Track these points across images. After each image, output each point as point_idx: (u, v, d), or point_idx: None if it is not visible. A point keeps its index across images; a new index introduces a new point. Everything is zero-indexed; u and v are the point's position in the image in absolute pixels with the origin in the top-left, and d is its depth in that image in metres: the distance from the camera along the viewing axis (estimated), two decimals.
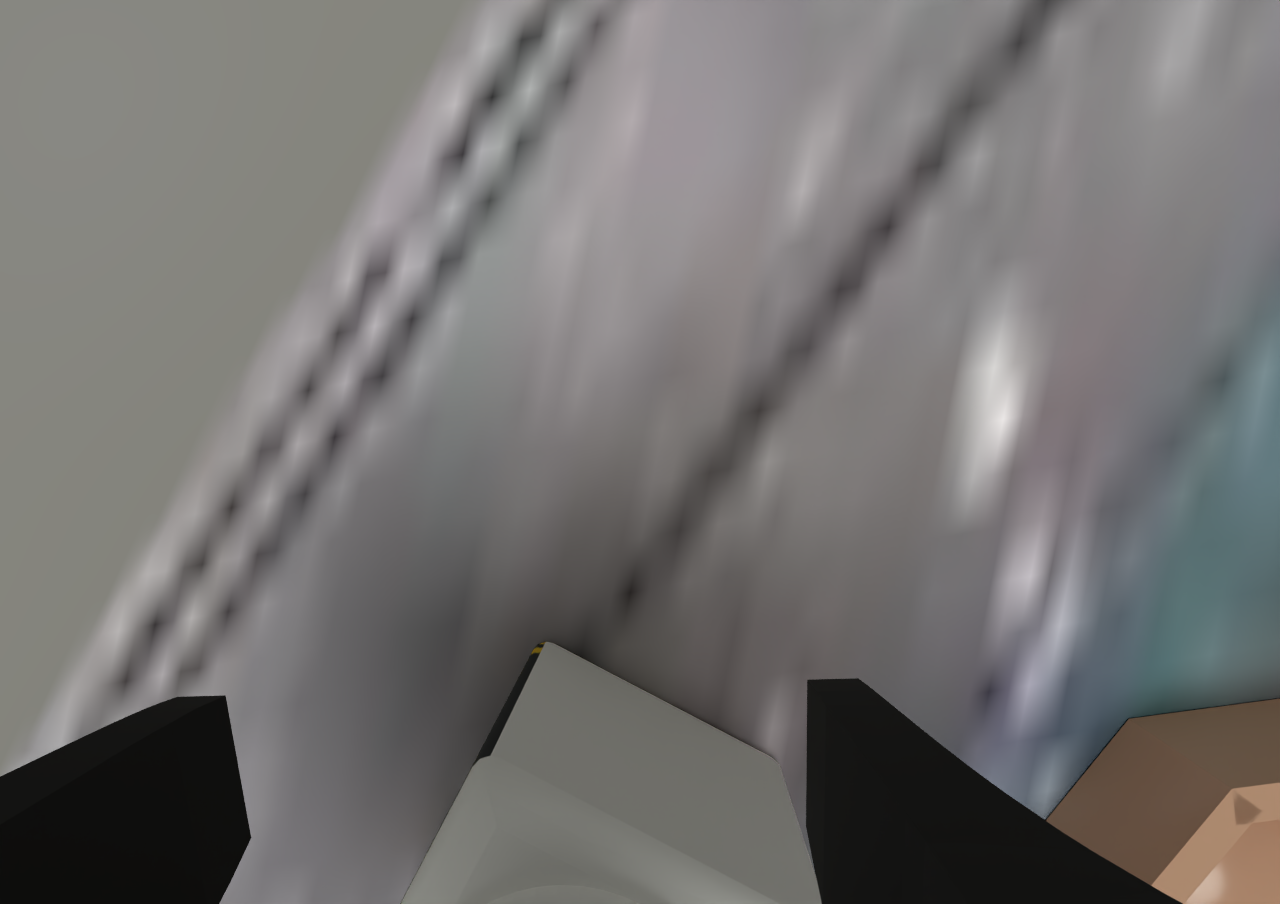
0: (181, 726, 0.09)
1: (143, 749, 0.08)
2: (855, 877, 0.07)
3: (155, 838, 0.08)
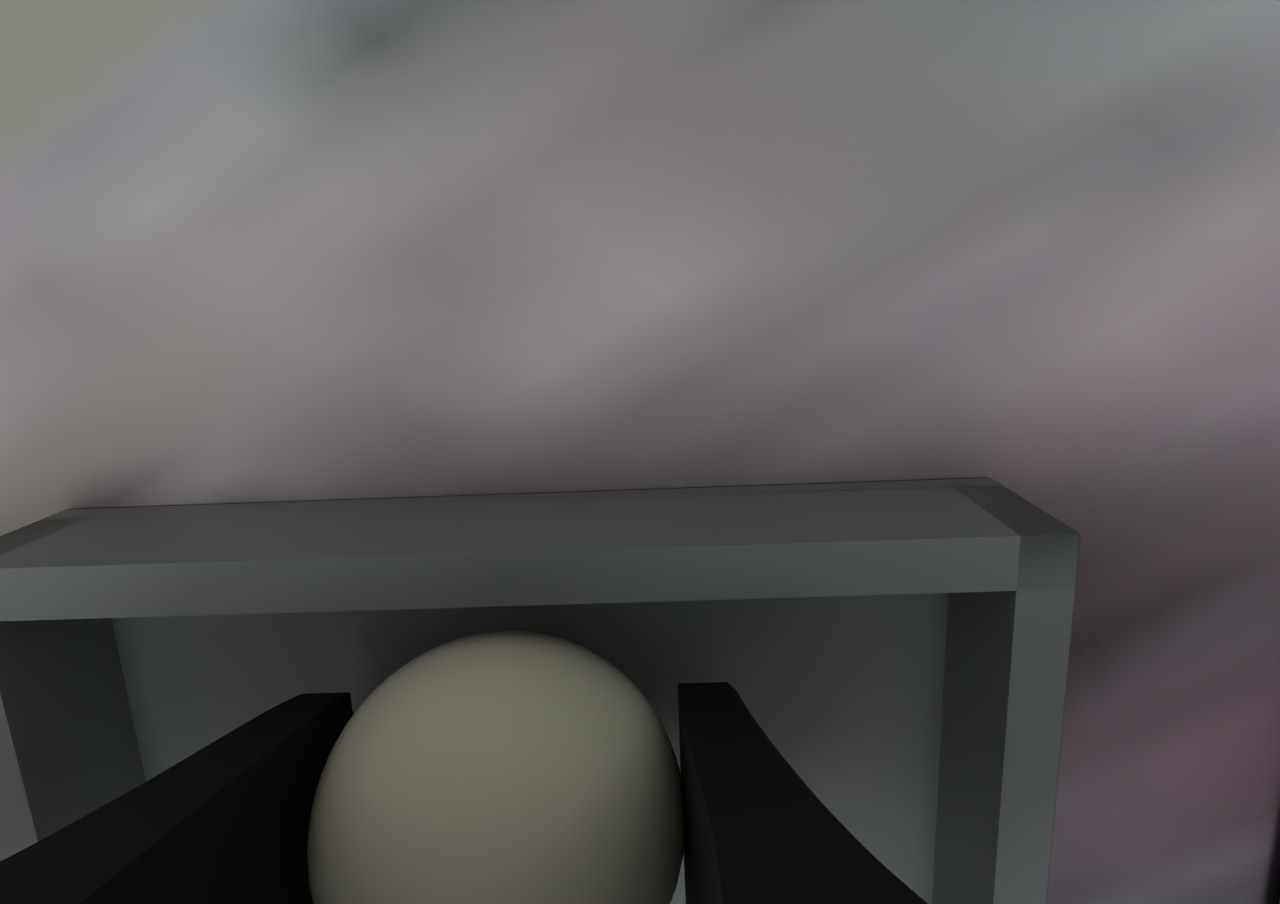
0: (318, 723, 0.08)
1: (290, 746, 0.08)
2: (695, 880, 0.07)
3: (299, 835, 0.08)
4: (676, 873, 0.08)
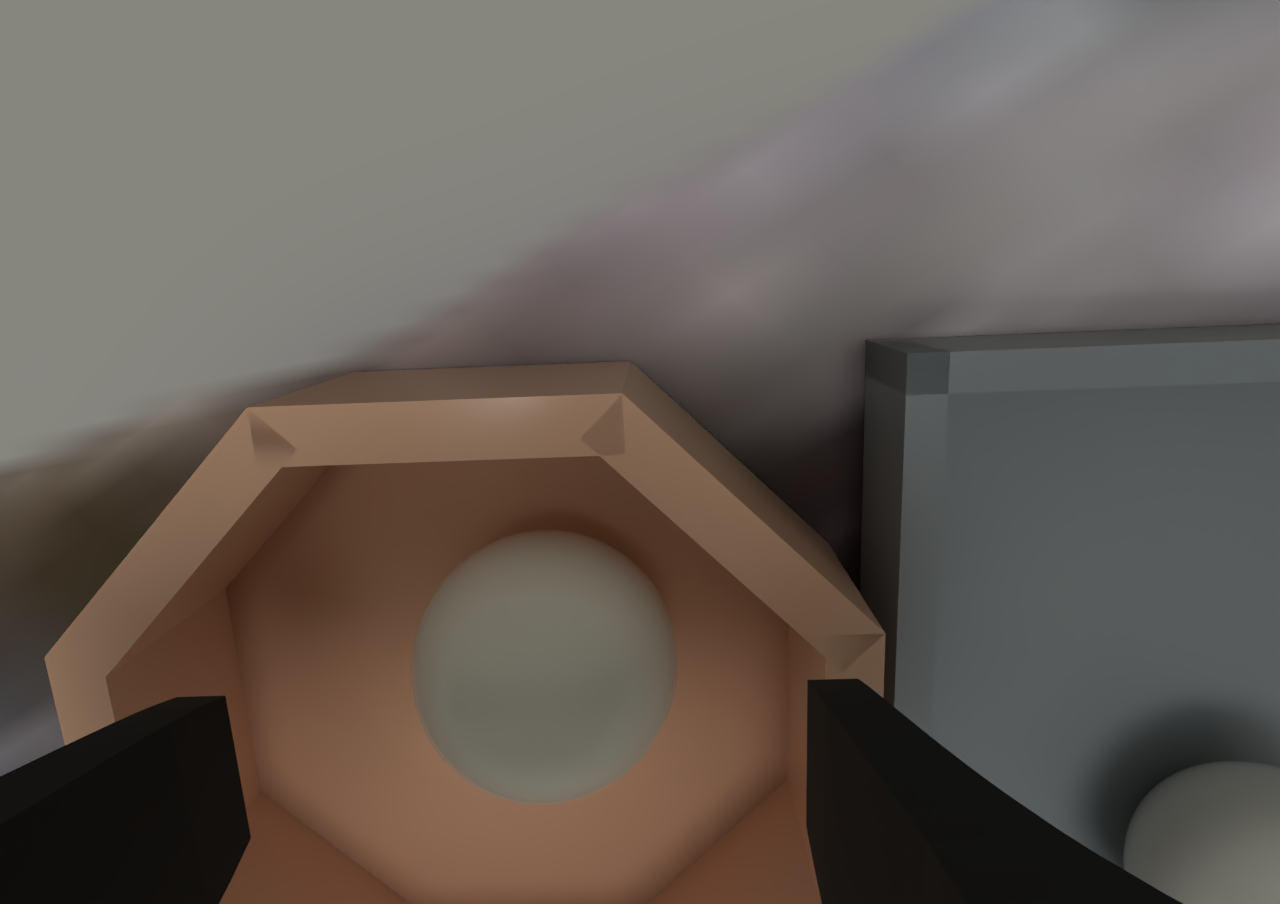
0: (181, 726, 0.09)
1: (143, 749, 0.08)
2: (854, 877, 0.07)
3: (155, 838, 0.08)
4: (672, 690, 0.11)
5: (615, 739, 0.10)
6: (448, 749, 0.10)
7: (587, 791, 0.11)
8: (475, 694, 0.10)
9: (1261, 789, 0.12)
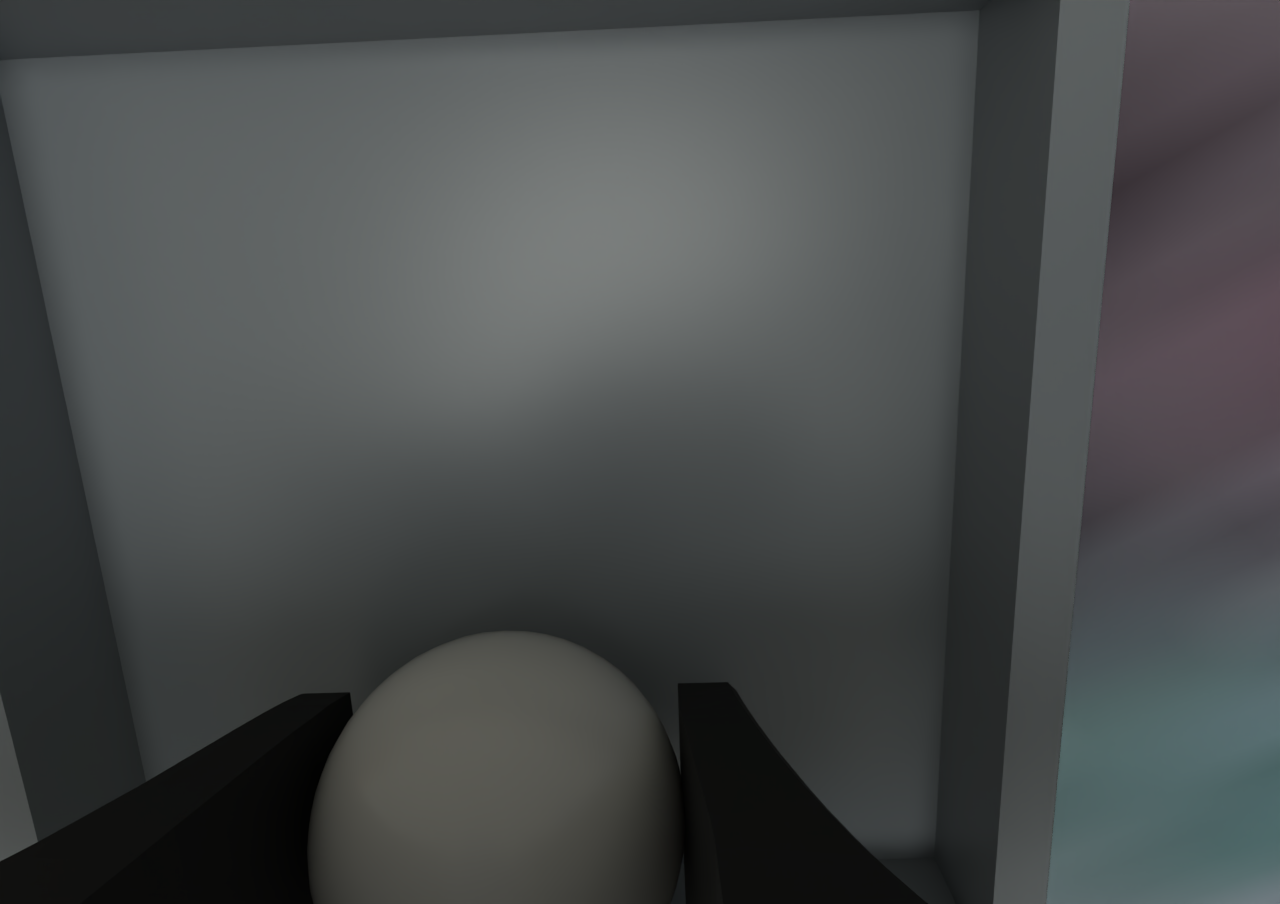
0: (318, 723, 0.08)
1: (290, 745, 0.08)
2: (695, 881, 0.07)
3: (299, 835, 0.08)
4: None
5: None
6: None
7: None
8: None
9: (451, 656, 0.08)
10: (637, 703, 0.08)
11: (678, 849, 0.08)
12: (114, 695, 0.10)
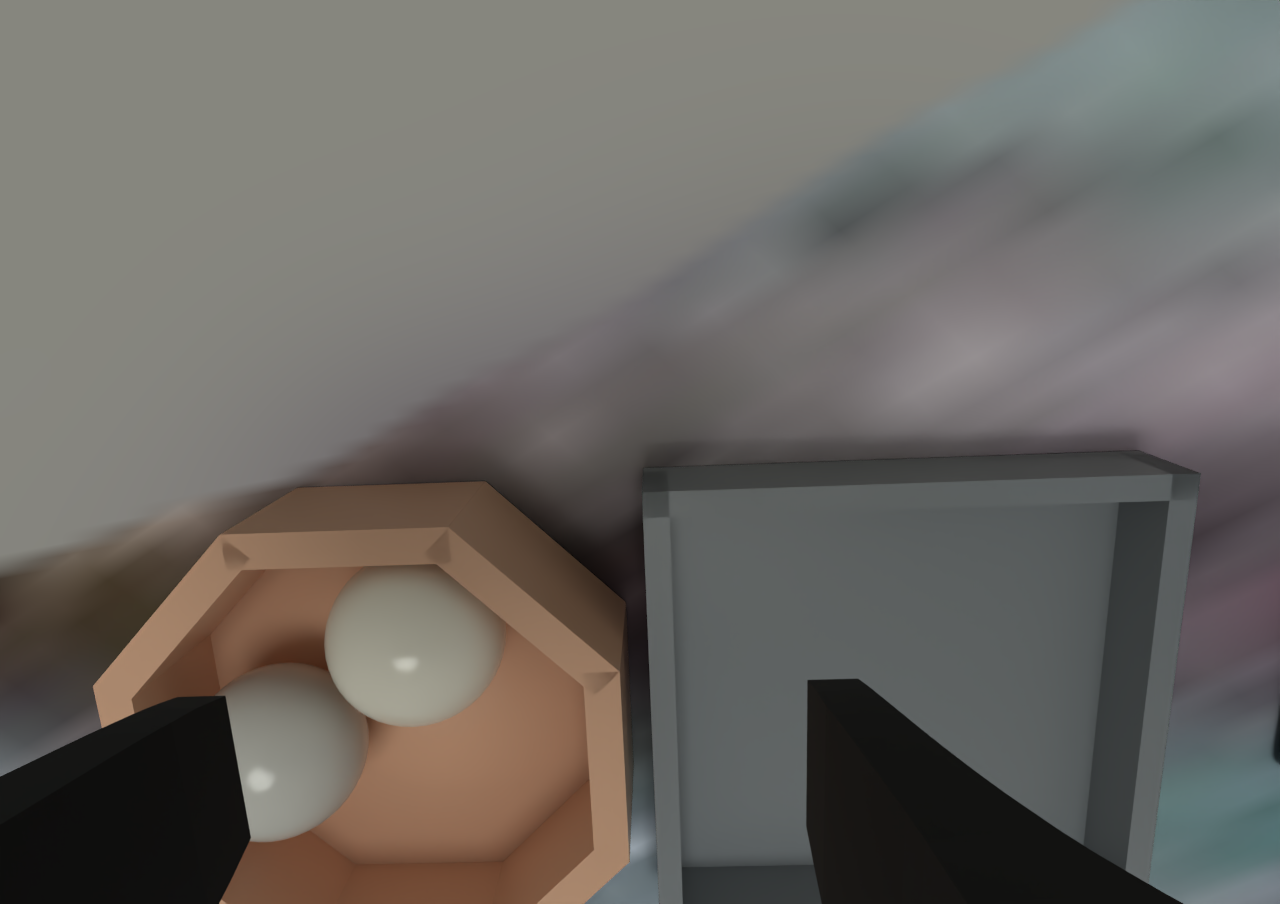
0: (181, 726, 0.09)
1: (143, 749, 0.08)
2: (854, 876, 0.07)
3: (155, 838, 0.08)
4: (496, 645, 0.17)
5: (452, 638, 0.16)
6: (343, 637, 0.16)
7: (425, 685, 0.16)
8: (374, 590, 0.16)
9: None
10: (296, 693, 0.18)
11: (256, 755, 0.17)
12: (678, 778, 0.21)
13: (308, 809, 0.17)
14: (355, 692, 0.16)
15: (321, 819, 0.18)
